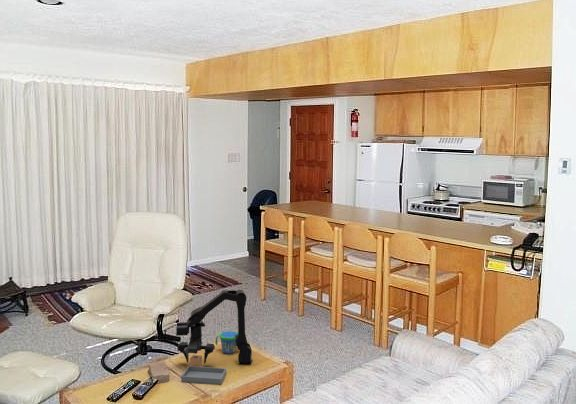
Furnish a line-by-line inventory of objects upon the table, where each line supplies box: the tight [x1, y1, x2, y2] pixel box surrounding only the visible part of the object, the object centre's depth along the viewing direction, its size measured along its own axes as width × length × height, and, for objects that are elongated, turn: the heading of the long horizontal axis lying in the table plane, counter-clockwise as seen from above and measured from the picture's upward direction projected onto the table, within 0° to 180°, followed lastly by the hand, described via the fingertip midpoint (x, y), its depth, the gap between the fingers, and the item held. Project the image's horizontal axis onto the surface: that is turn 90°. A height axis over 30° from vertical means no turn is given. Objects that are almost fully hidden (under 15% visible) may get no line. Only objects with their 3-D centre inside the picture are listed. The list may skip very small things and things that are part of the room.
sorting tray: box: [180, 365, 227, 386], centre depth 263 cm, size 20×12×3 cm, turn 84°
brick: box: [148, 360, 170, 384], centre depth 265 cm, size 17×8×5 cm, turn 22°
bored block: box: [189, 354, 203, 367], centre depth 277 cm, size 5×5×5 cm
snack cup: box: [215, 330, 238, 354], centre depth 296 cm, size 16×10×10 cm
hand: (196, 362), depth 277 cm, fingers open, 9 cm apart
